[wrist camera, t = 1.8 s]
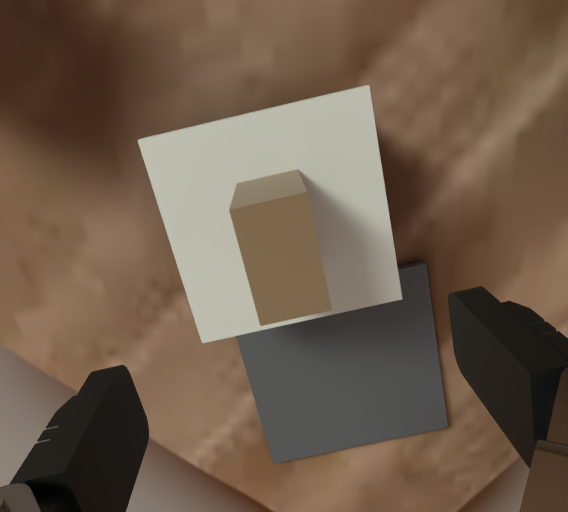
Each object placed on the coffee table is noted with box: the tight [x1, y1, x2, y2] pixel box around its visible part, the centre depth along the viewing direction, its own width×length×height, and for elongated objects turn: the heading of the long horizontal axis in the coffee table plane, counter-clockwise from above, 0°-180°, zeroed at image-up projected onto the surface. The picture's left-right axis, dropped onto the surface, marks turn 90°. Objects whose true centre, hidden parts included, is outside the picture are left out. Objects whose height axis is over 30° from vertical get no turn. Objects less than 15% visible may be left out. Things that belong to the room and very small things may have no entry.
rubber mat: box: [237, 261, 448, 464], centre depth 36 cm, size 14×14×1 cm
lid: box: [138, 85, 402, 343], centre depth 22 cm, size 11×11×6 cm
